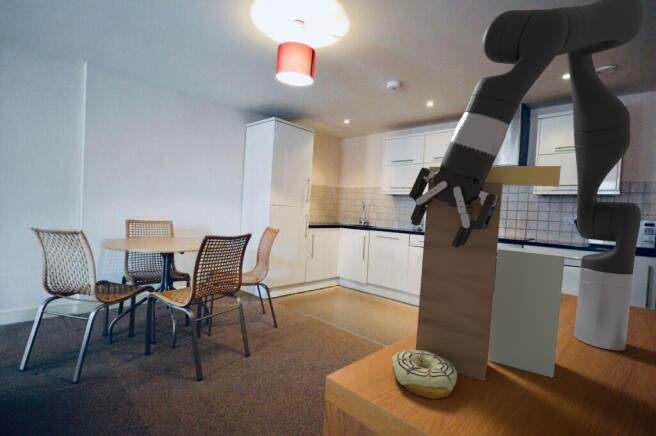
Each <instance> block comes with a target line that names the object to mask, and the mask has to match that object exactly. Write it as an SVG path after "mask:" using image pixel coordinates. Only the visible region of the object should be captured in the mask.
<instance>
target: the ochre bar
mask: <svg viewBox="0 0 656 436" xmlns="http://www.w3.org/2000/svg"><path fill="white" fill-rule="evenodd" d="M428 168H429V169H432V171H434V172H436V173H437V172H438V171H439V169H440V166H429V167H428ZM561 169H562V165H530V166H529V165H523V166H522V165H521V166H520V165H517V166H516V165H513V166H512V165H511V166H509V165H508V166H507V165H506V166H504V165H503V166H502V165H501V166H496V165H495V166H494V165H492V167H491V169H490V171H489V173H488V176H487V178H486V180H485V182H488V183H502V185H503V186H512V187H513V186H519V187H520V186H523V187H524V186H528V187H558V186H559V185H560V180H561ZM430 182H434V181H433V179H432V180H431V181H430Z"/></svg>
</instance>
